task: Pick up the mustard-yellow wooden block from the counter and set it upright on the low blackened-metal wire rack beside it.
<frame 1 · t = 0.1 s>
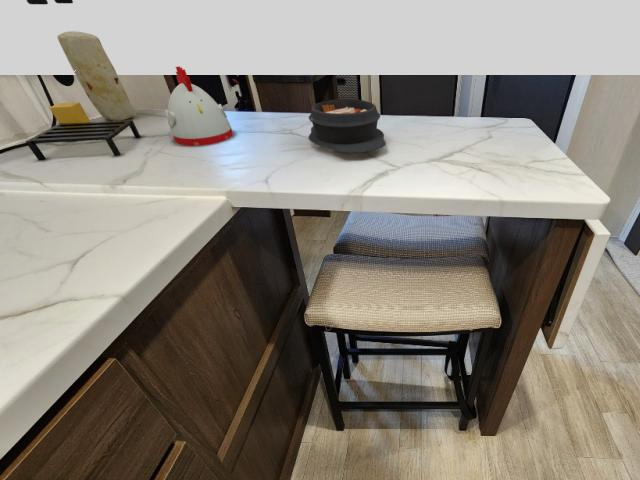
hand: (52, 3, 68), 26 cm above the countertop, tool pointing down, fingers open, 9 cm apart
food model: (119, 119, 97), on the countertop
kitchen timer: (205, 137, 85), on the countertop
block: (83, 135, 85), on the countertop
casserole: (347, 144, 83), on the countertop
rack: (94, 147, 79), on the countertop
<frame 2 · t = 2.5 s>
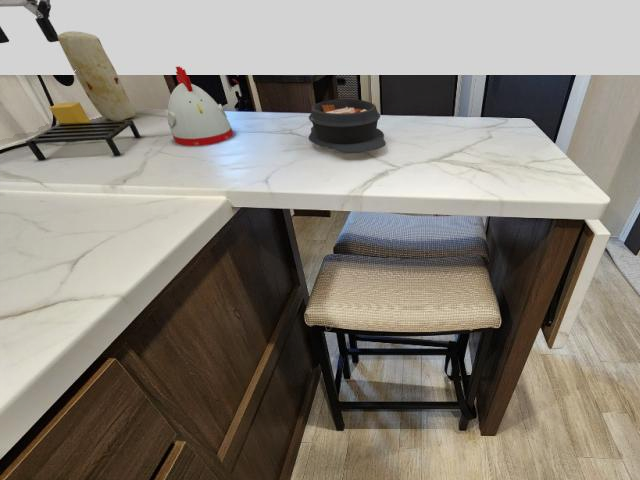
hand: (29, 42, 72), 19 cm above the countertop, tool pointing down, fingers open, 9 cm apart
nothing on the countertop moved.
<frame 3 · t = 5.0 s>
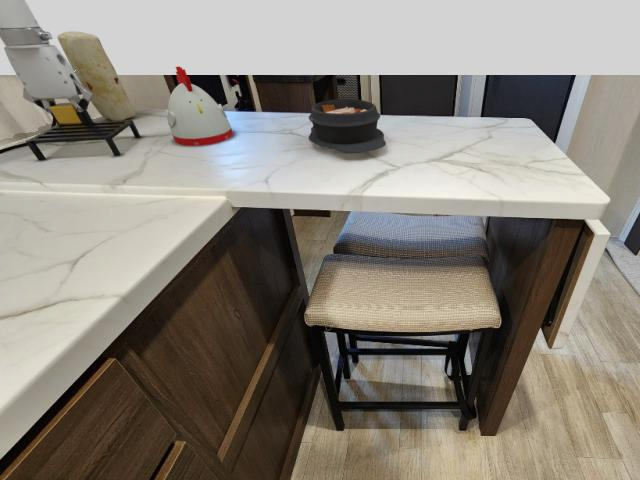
hand: (78, 128, 84), 2 cm above the countertop, tool pointing down, fingers closed on block, 4 cm apart
block: (83, 135, 85), on the countertop, touching gripper
everything else where it was.
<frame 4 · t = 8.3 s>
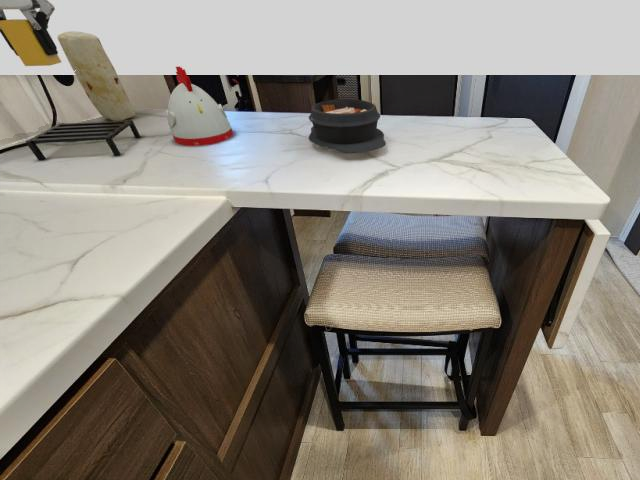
hand: (37, 53, 67), 18 cm above the countertop, tool pointing down, fingers closed on block, 4 cm apart
block: (44, 64, 68), point 16 cm above the countertop, touching gripper
everything else where it was.
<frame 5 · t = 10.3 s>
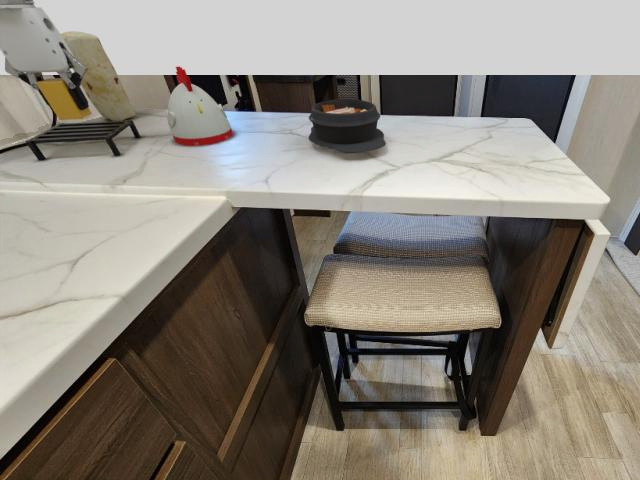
hand: (70, 108, 73), 8 cm above the countertop, tool pointing down, fingers closed on block, 4 cm apart
block: (76, 116, 74), point 7 cm above the countertop, touching gripper
everything else where it was.
when the fingers open (6 cm above the countertop, at t = 11.5 s): block stays where it is, resting on rack.
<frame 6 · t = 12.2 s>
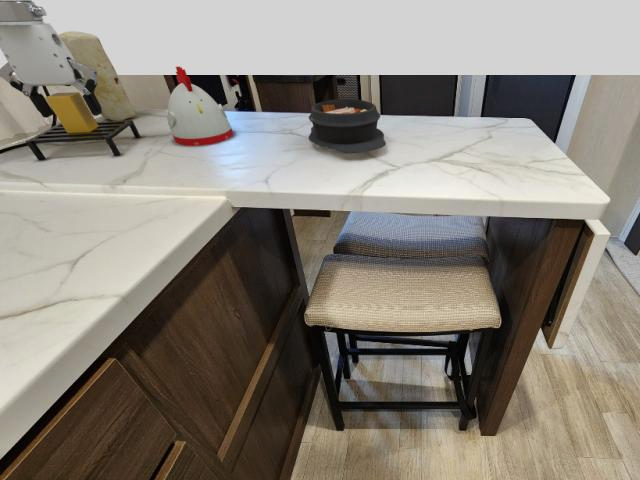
hand: (73, 115, 74), 7 cm above the countertop, tool pointing down, fingers open, 9 cm apart
block: (83, 129, 76), point 4 cm above the countertop, touching rack
everything else where it was.
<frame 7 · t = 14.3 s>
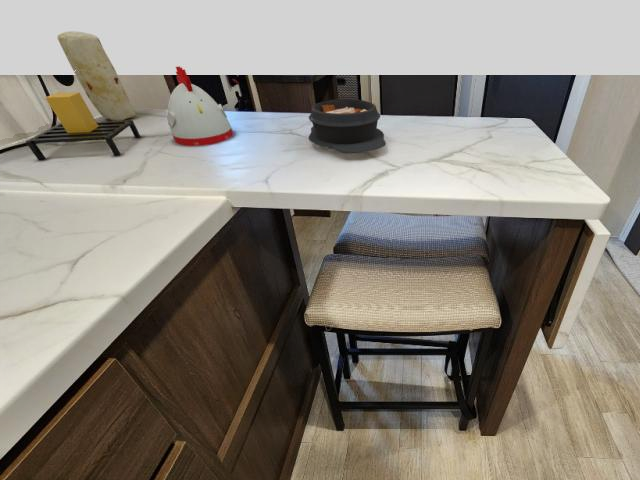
nothing on the countertop moved.
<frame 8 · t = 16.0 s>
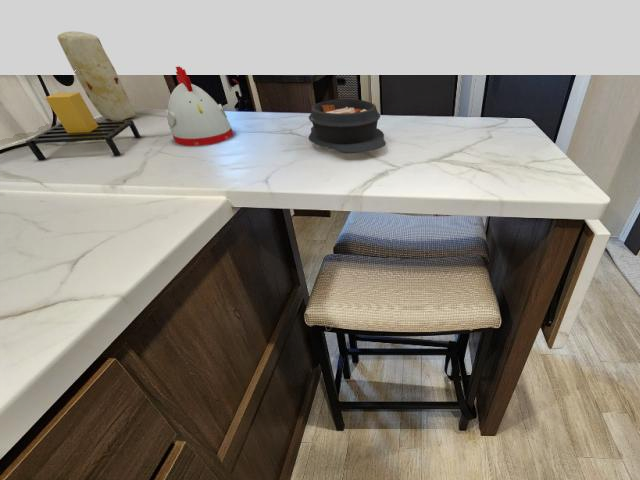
nothing on the countertop moved.
at the end: block inside the target area on the rack (0.1 cm from its centre), point 4.0 cm above the rack's base; block tilted 0°; the gripper is holding nothing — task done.
